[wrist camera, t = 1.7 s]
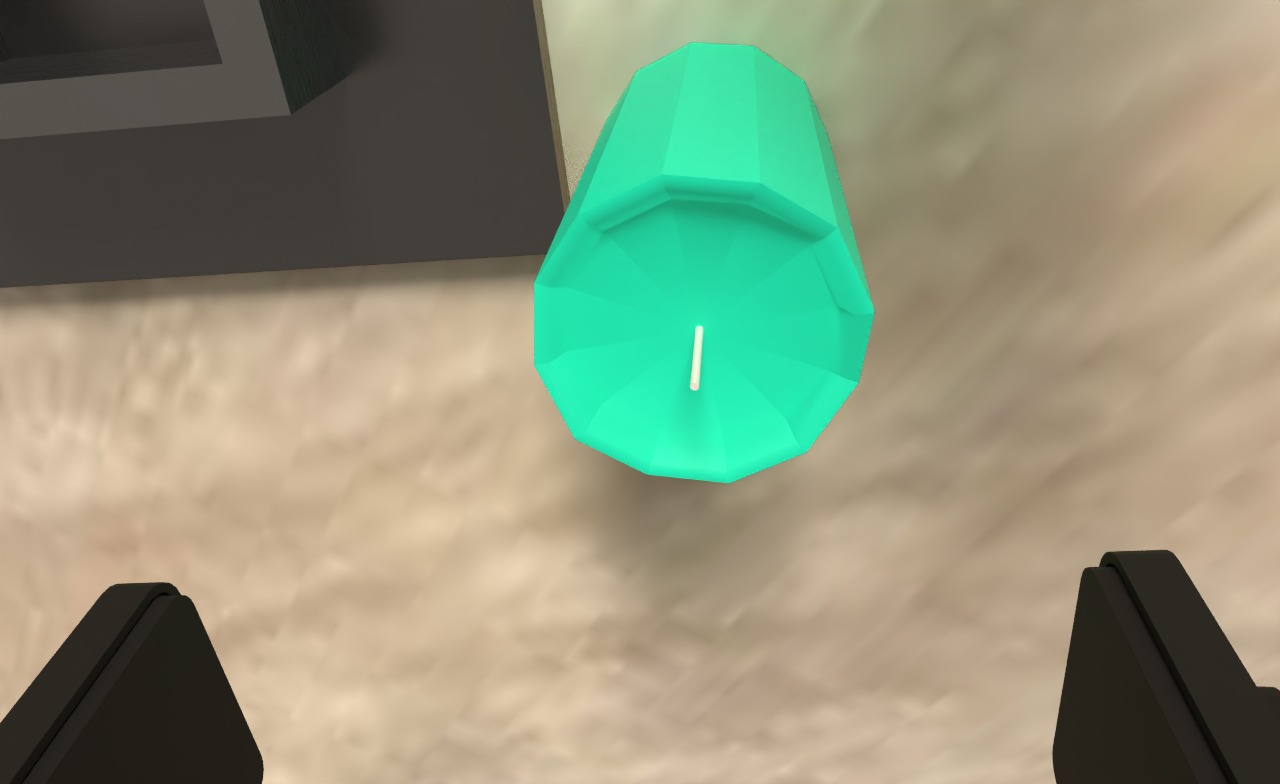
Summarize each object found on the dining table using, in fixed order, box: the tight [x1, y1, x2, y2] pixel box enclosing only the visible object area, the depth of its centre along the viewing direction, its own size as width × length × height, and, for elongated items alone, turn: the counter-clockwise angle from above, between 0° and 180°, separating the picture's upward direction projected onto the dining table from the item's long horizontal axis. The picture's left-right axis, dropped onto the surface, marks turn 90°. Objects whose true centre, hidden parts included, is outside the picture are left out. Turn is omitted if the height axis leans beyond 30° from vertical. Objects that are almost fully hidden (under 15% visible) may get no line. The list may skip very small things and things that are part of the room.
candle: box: [534, 42, 875, 483], centre depth 21 cm, size 6×6×12 cm
